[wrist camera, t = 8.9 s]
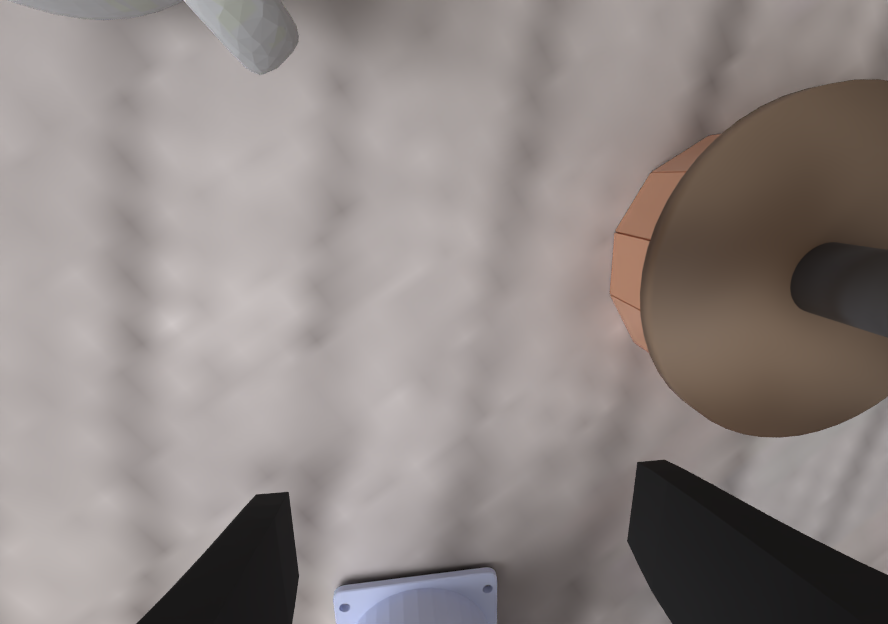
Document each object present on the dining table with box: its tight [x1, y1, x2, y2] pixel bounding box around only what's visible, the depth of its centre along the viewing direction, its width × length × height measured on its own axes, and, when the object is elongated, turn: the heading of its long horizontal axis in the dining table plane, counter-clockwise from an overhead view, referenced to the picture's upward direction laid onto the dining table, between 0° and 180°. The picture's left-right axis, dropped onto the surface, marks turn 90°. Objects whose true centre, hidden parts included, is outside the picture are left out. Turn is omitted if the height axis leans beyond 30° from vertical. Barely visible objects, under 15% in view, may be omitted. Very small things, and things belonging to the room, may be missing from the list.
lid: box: [640, 80, 888, 437], centre depth 14 cm, size 12×12×4 cm
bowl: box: [610, 134, 721, 352], centre depth 18 cm, size 10×10×4 cm
